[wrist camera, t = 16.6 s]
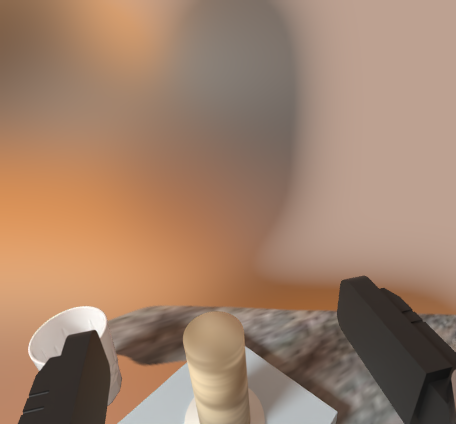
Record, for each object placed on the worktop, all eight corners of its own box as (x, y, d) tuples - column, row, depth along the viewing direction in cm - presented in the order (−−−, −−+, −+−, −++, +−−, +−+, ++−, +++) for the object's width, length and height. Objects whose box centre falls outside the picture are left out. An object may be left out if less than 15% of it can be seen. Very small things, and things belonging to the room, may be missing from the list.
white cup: (99, 433, 34) (71, 373, 30) (43, 412, 37) (10, 354, 32) (139, 369, 41) (121, 312, 36) (89, 355, 43) (67, 300, 39)
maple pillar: (224, 385, 34) (214, 303, 29) (260, 416, 31) (256, 330, 26) (189, 421, 31) (170, 337, 26) (226, 460, 28) (212, 373, 23)
